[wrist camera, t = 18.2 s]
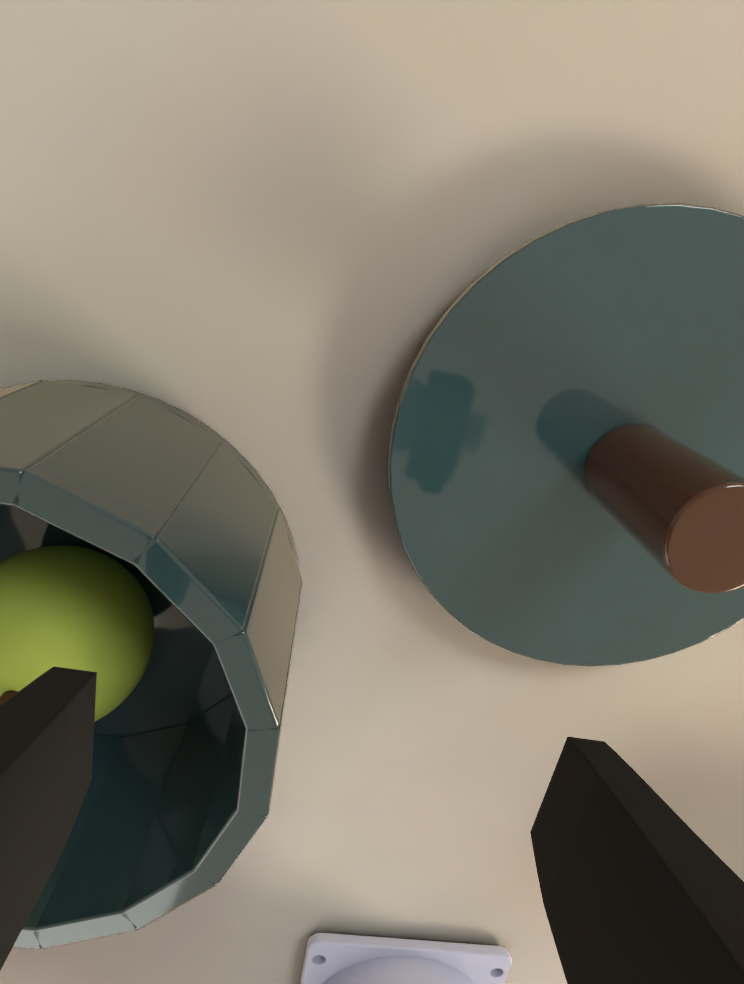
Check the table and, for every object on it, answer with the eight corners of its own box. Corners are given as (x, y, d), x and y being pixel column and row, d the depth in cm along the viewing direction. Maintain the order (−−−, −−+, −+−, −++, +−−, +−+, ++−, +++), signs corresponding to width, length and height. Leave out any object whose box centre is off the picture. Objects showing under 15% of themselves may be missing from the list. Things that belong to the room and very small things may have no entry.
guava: (170, 663, 19) (109, 817, 14) (11, 647, 18) (-113, 800, 13) (177, 527, 17) (110, 645, 12) (2, 506, 17) (-143, 619, 12)
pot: (277, 756, 21) (247, 965, 15) (-93, 719, 20) (-291, 927, 14) (325, 416, 17) (311, 509, 10) (-142, 346, 16) (-457, 405, 9)
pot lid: (739, 666, 20) (878, 812, 15) (354, 619, 19) (357, 759, 14) (923, 254, 16) (1213, 254, 10) (435, 162, 14) (484, 110, 9)
